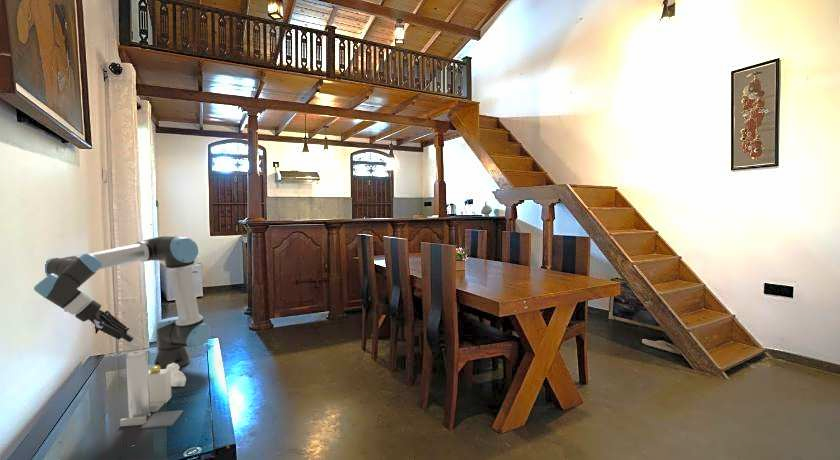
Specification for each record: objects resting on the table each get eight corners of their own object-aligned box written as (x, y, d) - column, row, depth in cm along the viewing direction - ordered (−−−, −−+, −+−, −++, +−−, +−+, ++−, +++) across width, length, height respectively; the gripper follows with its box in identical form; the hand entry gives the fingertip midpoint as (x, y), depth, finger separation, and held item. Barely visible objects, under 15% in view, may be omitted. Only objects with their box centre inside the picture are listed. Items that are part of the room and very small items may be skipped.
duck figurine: (174, 385, 178) (154, 370, 173) (188, 371, 182) (170, 356, 177) (179, 395, 169) (159, 379, 164) (194, 380, 173) (175, 364, 168)
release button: (152, 373, 161) (152, 365, 160) (162, 373, 161) (162, 365, 161) (148, 377, 157) (147, 369, 157) (158, 376, 158) (157, 368, 157)
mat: (154, 414, 150) (154, 412, 150) (183, 411, 151) (183, 410, 151) (140, 428, 140) (140, 427, 140) (171, 425, 142) (171, 424, 142)
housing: (147, 399, 161) (146, 370, 161) (171, 397, 163) (170, 368, 162) (118, 426, 141) (117, 393, 141) (146, 424, 143) (145, 391, 142)
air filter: (139, 423, 143) (136, 356, 142) (124, 421, 144) (121, 354, 143) (154, 414, 150) (151, 349, 148) (140, 412, 151) (137, 348, 149)
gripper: (78, 308, 150) (133, 343, 161) (69, 322, 139) (128, 358, 150) (96, 294, 151) (149, 329, 162) (87, 306, 140) (145, 344, 151)
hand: (139, 343), depth 156 cm, fingers closed
